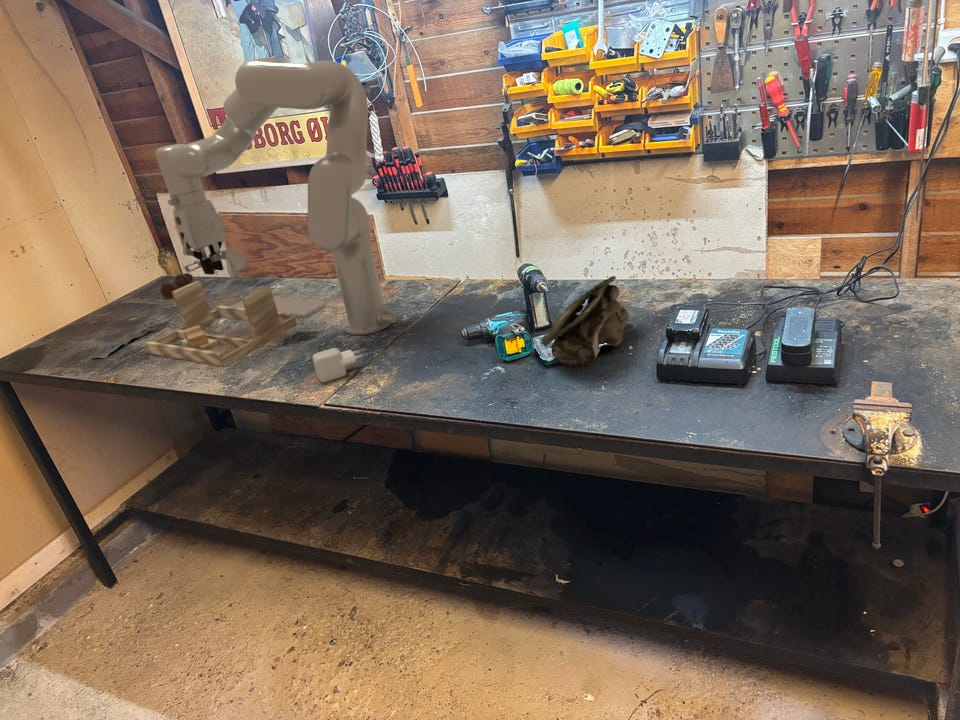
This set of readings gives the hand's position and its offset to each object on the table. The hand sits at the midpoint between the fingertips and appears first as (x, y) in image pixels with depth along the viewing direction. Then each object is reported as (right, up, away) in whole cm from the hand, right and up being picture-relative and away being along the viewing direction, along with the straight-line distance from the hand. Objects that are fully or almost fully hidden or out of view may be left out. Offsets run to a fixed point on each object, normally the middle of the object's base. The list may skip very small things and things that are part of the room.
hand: (214, 271), depth 160 cm
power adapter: (+38, -25, -23) cm, 51 cm away
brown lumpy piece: (-31, 0, +48) cm, 57 cm away
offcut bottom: (-3, -20, 0) cm, 20 cm away
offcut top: (-3, -18, -2) cm, 18 cm away
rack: (0, -17, +5) cm, 17 cm away
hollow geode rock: (+89, -20, -28) cm, 95 cm away
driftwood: (-29, -18, +12) cm, 36 cm away
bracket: (0, -1, +1) cm, 1 cm away
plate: (+10, -8, +20) cm, 23 cm away
